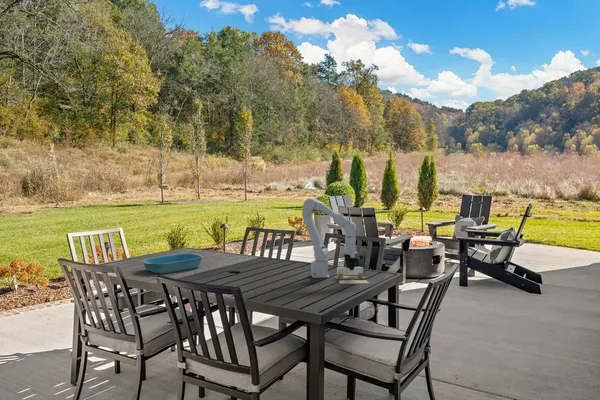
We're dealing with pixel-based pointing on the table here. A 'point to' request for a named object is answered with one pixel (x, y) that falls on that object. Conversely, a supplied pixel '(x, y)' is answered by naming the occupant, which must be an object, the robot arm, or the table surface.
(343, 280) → the mat
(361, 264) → the binoculars
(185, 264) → the casserole dish
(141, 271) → the table surface
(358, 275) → the rack
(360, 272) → the rail
